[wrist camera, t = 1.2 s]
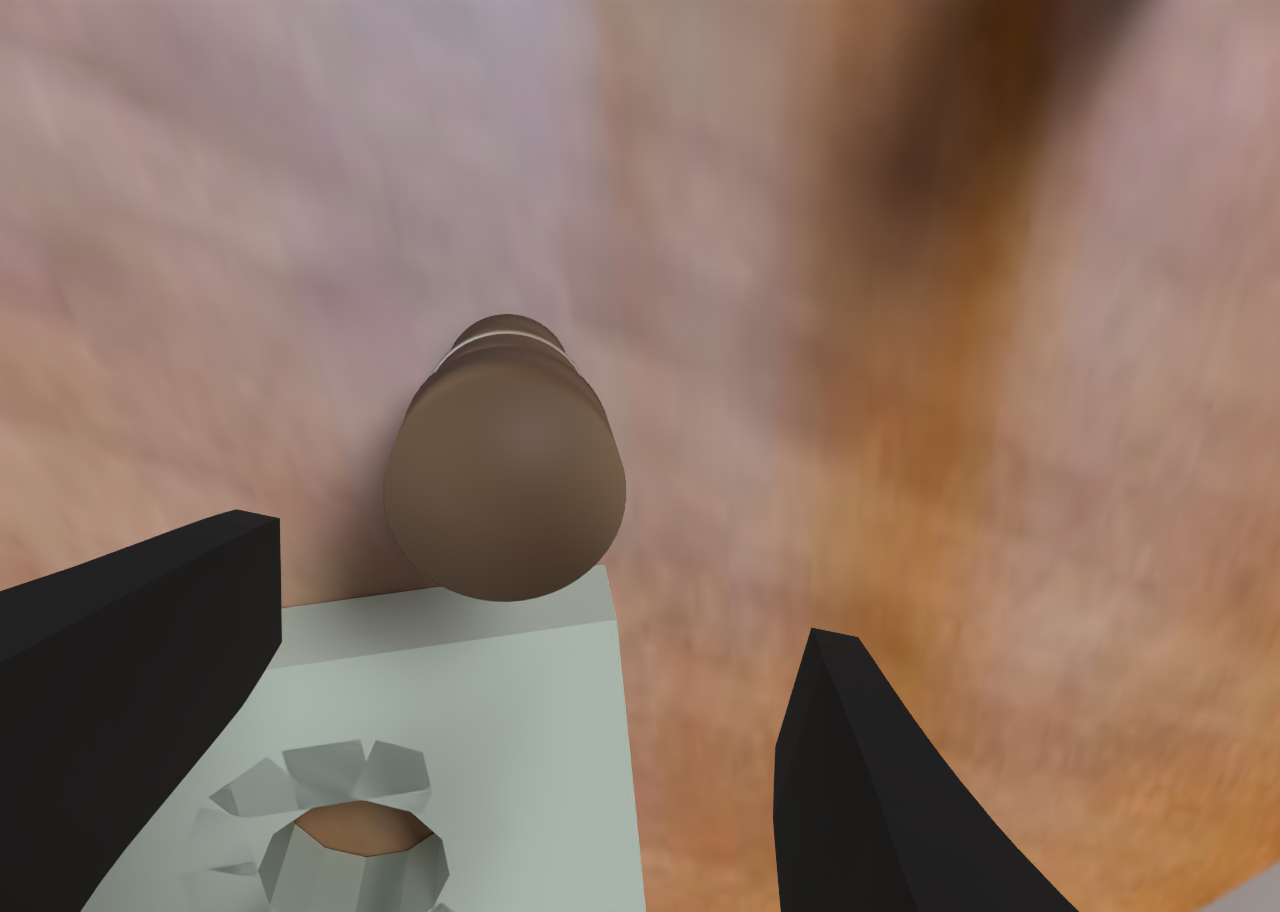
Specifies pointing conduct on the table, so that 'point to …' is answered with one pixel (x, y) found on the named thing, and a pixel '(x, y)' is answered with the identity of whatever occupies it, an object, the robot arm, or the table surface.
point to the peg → (505, 467)
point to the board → (412, 766)
